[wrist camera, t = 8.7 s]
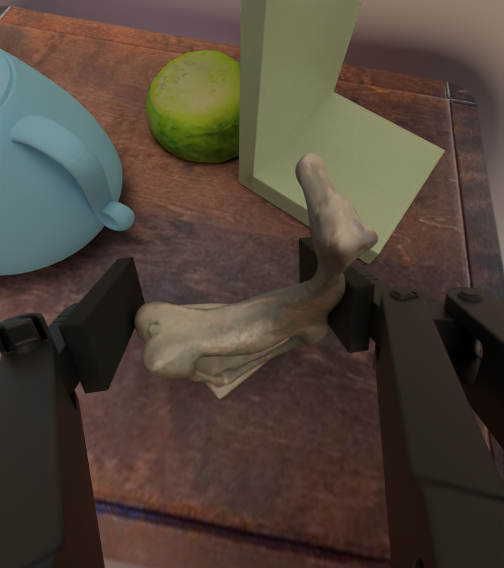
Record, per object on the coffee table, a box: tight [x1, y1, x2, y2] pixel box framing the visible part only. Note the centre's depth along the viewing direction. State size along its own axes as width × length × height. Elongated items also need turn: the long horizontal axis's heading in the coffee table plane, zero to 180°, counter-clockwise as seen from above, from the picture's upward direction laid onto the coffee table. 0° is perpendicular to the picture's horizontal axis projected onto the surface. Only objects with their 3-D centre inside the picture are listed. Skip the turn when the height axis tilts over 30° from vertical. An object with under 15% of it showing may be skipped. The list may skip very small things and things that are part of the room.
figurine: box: [134, 153, 378, 399], centre depth 13 cm, size 11×6×15 cm, turn 84°
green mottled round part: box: [146, 50, 240, 163], centre depth 28 cm, size 12×11×5 cm
